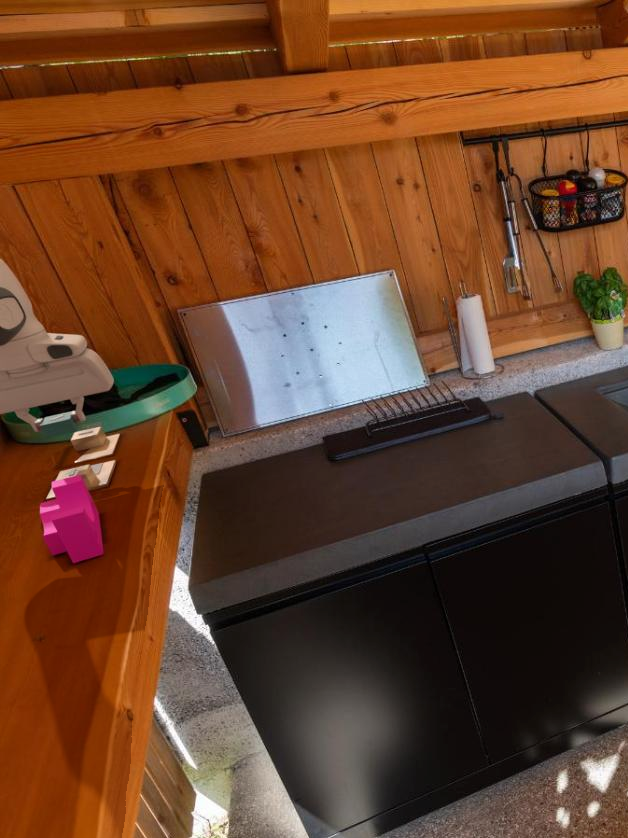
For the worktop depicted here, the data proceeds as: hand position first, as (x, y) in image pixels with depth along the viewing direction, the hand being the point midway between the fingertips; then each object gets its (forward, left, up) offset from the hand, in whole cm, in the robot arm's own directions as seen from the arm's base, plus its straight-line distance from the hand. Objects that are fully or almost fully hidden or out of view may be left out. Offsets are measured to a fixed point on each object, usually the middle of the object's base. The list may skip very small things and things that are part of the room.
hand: (61, 425), depth 135 cm
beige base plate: (0, -3, -10) cm, 11 cm away
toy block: (+3, -28, -10) cm, 30 cm away
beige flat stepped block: (-1, +12, -10) cm, 16 cm away
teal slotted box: (0, 0, -1) cm, 1 cm away
